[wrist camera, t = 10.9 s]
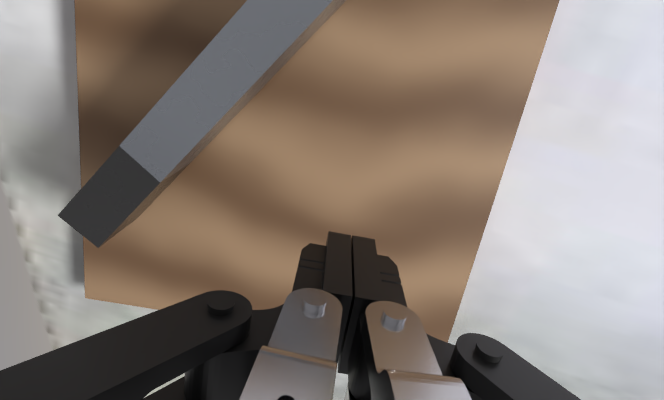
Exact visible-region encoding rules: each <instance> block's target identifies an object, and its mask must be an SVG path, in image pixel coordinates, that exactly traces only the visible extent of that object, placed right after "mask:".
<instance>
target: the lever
mask: <svg viewBox="0 0 664 400" xmlns="http://www.w3.org/2000/svg"><path fill="white" fill-rule="evenodd" d="M345 1H346V0H247V1H246V2H245V3H244V4H243V6H242V7H241V8H240V9H239V10H238V11H237V12H236V13H235V15H234V16H233V17H232V18H231V19H230V20H229V21H228V23H227V24H226V25H225V26H224V27H223V28H222V29H221V31H220V32H219V33H218V34H217V35H216V36H215V37H214V38H213V40H212V41H211V42H210V43H209V44H208V45H207V46H206V48H205V49H204V50H203V51H202V52H201V53H200V54H199V56H198V57H197V58H196V59H195V60H194V61H193V62H192V64H191V65H190V66H189V67H188V68H187V69H186V70H185V71H184V73H183V74H182V75H181V76H180V77H179V78H178V79H177V81H176V82H175V83H174V84H173V85H172V86H171V87H170V89H169V90H168V91H167V92H166V93H165V94H164V95H163V96H162V98H161V99H160V100H159V101H158V102H157V103H156V104H155V106H154V107H153V108H152V109H151V110H150V111H149V112H148V114H147V115H146V116H145V117H144V118H143V119H142V120H141V121H140V123H139V124H138V125H137V126H136V127H135V128H134V129H133V131H132V132H131V133H130V134H129V135H128V136H127V137H126V139H125V140H124V141H123V142H122V143H121V144H120V145H119V146H118V148H117V149H116V150H115V151H114V152H113V153H112V154H111V156H110V157H109V158H108V159H107V160H106V161H105V162H104V164H103V165H102V166H101V167H100V168H99V169H98V170H97V171H96V173H95V174H94V175H93V176H92V177H91V178H90V179H89V181H88V182H87V183H86V184H85V185H84V186H83V187H82V189H81V190H80V191H79V192H78V193H77V194H76V195H75V196H74V198H73V199H72V200H71V201H70V202H69V203H68V204H67V206H66V207H65V208H64V209H63V210H62V211H61V212H60V214H59V215H58V216H59V217H60V218H62V219H63V220H64V221H65V222H67V223H68V224H69V225H70V226H72V227H73V228H74V229H75V230H76V231H78V232H79V233H80V234H81V235H83V236H84V237H85V238H86V239H88V240H89V241H90V242H91V243H93V244H94V245H95V246H96V247H97V248H99V247H100V246H102V245H103V244H104V243H106V242H107V241H108V240H110V239H111V238H112V237H114V236H115V235H116V234H117V233H119V232H120V231H121V230H123V229H124V228H125V227H127V226H128V225H129V224H131V223H132V222H133V221H135V220H136V219H137V218H138V217H139V216H140V215H141V214H142V213H143V212H144V211H145V210H146V209H147V208H148V207H149V206H150V205H151V204H152V203H153V201H154V200H155V199H156V198H157V197H158V196H159V195H160V194H161V193H162V192H163V191H164V190H165V189H166V188H167V187H168V186H169V185H170V184H171V183H172V182H173V181H174V180H175V179H176V177H177V176H178V175H179V174H180V173H181V172H182V171H183V170H184V169H185V168H186V167H187V166H188V165H189V164H190V163H191V162H192V161H193V160H194V159H195V158H196V157H197V156H198V155H199V153H200V152H201V151H202V150H203V149H204V148H205V147H206V146H207V145H208V144H209V143H210V142H211V141H212V140H213V139H214V138H215V137H216V136H217V135H218V134H219V133H220V132H221V131H222V129H223V128H224V127H225V126H226V125H227V124H228V123H229V122H230V121H231V120H232V119H233V118H234V117H235V116H236V115H237V114H238V113H239V112H240V111H241V110H242V109H243V108H244V106H245V105H246V104H247V103H248V102H249V101H250V100H251V99H252V98H253V97H254V96H255V95H256V94H257V93H258V92H259V91H260V90H261V89H262V88H263V87H264V86H265V85H266V84H267V82H268V81H269V80H270V79H271V78H272V77H273V76H274V75H275V74H276V73H277V72H278V71H279V70H280V69H281V68H282V67H283V66H284V65H285V64H286V63H287V62H288V61H289V60H290V58H291V57H292V56H293V55H294V54H295V53H296V52H297V51H298V50H299V49H300V48H301V47H302V46H303V45H304V44H305V43H306V42H307V41H308V40H309V39H310V38H311V37H312V35H313V34H314V33H315V32H316V31H317V30H318V29H319V28H320V27H321V26H322V25H323V24H324V23H325V22H326V21H327V20H328V19H329V18H330V17H331V16H332V15H333V14H334V13H335V11H336V10H337V9H338V8H339V7H340V6H341V5H342V4H343V3H344V2H345Z"/></svg>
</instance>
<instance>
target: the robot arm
mask: <svg viewBox="0 0 664 400" xmlns="http://www.w3.org/2000/svg"><path fill="white" fill-rule="evenodd" d="M337 363H338V373H343V374H348V385H347V389H346V394H345V398H344V400H581V399H579V398H578V397H576V396H575V395H574V394H572V393H571V392H569V391H568V390H567V389H565V388H564V387H562V386H561V385H560V384H558V383H557V382H555V381H554V380H553V379H551V378H550V377H548V376H547V375H546V374H544V373H543V372H541V371H540V370H539V369H537V368H536V367H534V366H533V365H531V364H530V363H529V362H527V361H526V360H524V359H523V358H522V357H520V356H519V355H517V354H516V353H515V352H513V351H512V350H510V349H509V348H508V347H506V346H505V345H503V344H502V343H500V342H499V341H497V340H495V339H493V338H490V337H488V336H485V335H481V334H476V333H467V334H463V335H461V336H460V337H459V338H458V339H457V342H456V345H452V344H450V343H447V342H444V341H442V340H439V339H437V338H434V337H432V336H430V335H428V334H427V333H426V332H425V330H424V327H423V325H422V322H421V320H420V318H419V317H418V315H417V314H416V313H415V312H413V311H412V310H411V309H409V308H407V304H406V300H405V296H404V292H403V288H402V285H401V280H400V277H399V271H398V267H397V265H396V264H395V263H394V262H393V261H392V260H391V259H390V257H388V256H383V255H377V250H376V244H375V239H371V238H366V237H360V236H354V235H352V237H351V235H348V234H342V233H337V232H331V231H329V232H328V236H327V241H326V246H325V245H319V244H313V243H309V244H308V245H307V246H305V247H304V248H303V249H302V250H301V255H300V259H299V263H298V268H297V272H296V276H295V280H294V285H293V289H292V292H291V293H290V294H289V295H288V296H287V298H286V300H285V302H284V304H282V305H280V306H278V307H275V308H271V309H264V310H252V305H251V303H250V301H249V300H248V299H247V298H246V297H244V296H243V295H241V294H239V293H236V292H232V291H226V290H216V291H209V292H205V293H202V294H200V295H197V296H194V297H192V298H189V299H187V300H184V301H181V302H179V303H176V304H174V305H171V306H168V307H166V308H163V309H160V310H158V311H155V312H153V313H150V314H147V315H145V316H142V317H140V318H137V319H134V320H132V321H129V322H126V323H124V324H121V325H119V326H116V327H113V328H111V329H108V330H106V331H103V332H100V333H98V334H95V335H92V336H90V337H87V338H85V339H82V340H79V341H77V342H74V343H72V344H69V345H66V346H64V347H61V348H58V349H56V350H53V351H51V352H48V353H45V354H43V355H40V356H38V357H35V358H32V359H30V360H27V361H24V362H22V363H20V364H17V365H14V366H11V367H9V368H6V369H4V370H1V371H0V400H332V399H333V392H334V384H335V377H336V369H337ZM183 373H185V376H184V377H182V378H180V379H179V380H177V381H175V382H173V383H171V384H169V385H167V386H166V387H164V388H162V389H160V390H158V391H156V392H155V393H153V394H151V395H149V396H147V397H145V396H146V395H147V394H148V393H149V392H151V391H152V390H154V389H155V388H157V387H159V386H161V385H163V384H165V383H166V382H168V381H170V380H172V379H174V378H176V377H178V376H180V375H181V374H183ZM144 397H145V398H144Z"/></svg>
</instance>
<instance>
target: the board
mask: <svg viewBox="0 0 664 400" xmlns="http://www.w3.org/2000/svg"><path fill="white" fill-rule="evenodd" d="M246 1H247V0H75V28H76V55H77V83H78V111H79V139H80V166H81V189H82V187H83V186H84V185H85V184H86V183H87V182H88V181H89V179H90V178H91V177H92V176H93V175H94V174H95V173H96V171H97V170H98V169H99V168H100V167H101V166H102V165H103V164H104V162H105V161H106V160H107V159H108V158H109V157H110V156H111V154H112V153H113V152H114V151H115V150H116V149H117V148H118V146H119V145H120V144H121V143H122V142H123V141H124V140H125V139H126V137H127V136H128V135H129V134H130V133H131V132H132V131H133V129H134V128H135V127H136V126H137V125H138V124H139V123H140V121H141V120H142V119H143V118H144V117H145V116H146V115H147V114H148V112H149V111H150V110H151V109H152V108H153V107H154V106H155V104H156V103H157V102H158V101H159V100H160V99H161V98H162V96H163V95H164V94H165V93H166V92H167V91H168V90H169V89H170V87H171V86H172V85H173V84H174V83H175V82H176V81H177V79H178V78H179V77H180V76H181V75H182V74H183V73H184V71H185V70H186V69H187V68H188V67H189V66H190V65H191V64H192V62H193V61H194V60H195V59H196V58H197V57H198V56H199V54H200V53H201V52H202V51H203V50H204V49H205V48H206V46H207V45H208V44H209V43H210V42H211V41H212V40H213V38H214V37H215V36H216V35H217V34H218V33H219V32H220V31H221V29H222V28H223V27H224V26H225V25H226V24H227V23H228V21H229V20H230V19H231V18H232V17H233V16H234V15H235V13H236V12H237V11H238V10H239V9H240V8H241V7H242V6H243V4H244V3H245V2H246ZM558 3H559V0H346V1H345V2H344V3H343V4H342V5H341V6H340V7H339V8H338V9H337V10H336V11H335V13H334V14H333V15H332V16H331V17H330V18H329V19H328V20H327V21H326V22H325V23H324V24H323V25H322V26H321V27H320V28H319V29H318V30H317V31H316V32H315V33H314V34H313V35H312V37H311V38H310V39H309V40H308V41H307V42H306V43H305V44H304V45H303V46H302V47H301V48H300V49H299V50H298V51H297V52H296V53H295V54H294V55H293V56H292V57H291V58H290V60H289V61H288V62H287V63H286V64H285V65H284V66H283V67H282V68H281V69H280V70H279V71H278V72H277V73H276V74H275V75H274V76H273V77H272V78H271V79H270V80H269V81H268V82H267V84H266V85H265V86H264V87H263V88H262V89H261V90H260V91H259V92H258V93H257V94H256V95H255V96H254V97H253V98H252V99H251V100H250V101H249V102H248V103H247V104H246V105H245V106H244V108H243V109H242V110H241V111H240V112H239V113H238V114H237V115H236V116H235V117H234V118H233V119H232V120H231V121H230V122H229V123H228V124H227V125H226V126H225V127H224V128H223V129H222V131H221V132H220V133H219V134H218V135H217V136H216V137H215V138H214V139H213V140H212V141H211V142H210V143H209V144H208V145H207V146H206V147H205V148H204V149H203V150H202V151H201V152H200V153H199V155H198V156H197V157H196V158H195V159H194V160H193V161H192V162H191V163H190V164H189V165H188V166H187V167H186V168H185V169H184V170H183V171H182V172H181V173H180V174H179V175H178V176H177V177H176V179H175V180H174V181H173V182H172V183H171V184H170V185H169V186H168V187H167V188H166V189H165V190H164V191H163V192H162V193H161V194H160V195H159V196H158V197H157V198H156V199H155V200H154V201H153V203H152V204H151V205H150V206H149V207H148V208H147V209H146V210H145V211H144V212H143V213H142V214H141V215H140V216H139V217H138V218H137V219H136V220H135V221H133V222H132V223H131V224H129V225H128V226H127V227H125V228H124V229H123V230H121V231H120V232H119V233H117V234H116V235H115V236H114V237H112V238H111V239H110V240H108V241H107V242H106V243H104V244H103V245H102V246H100V247H99V248H97V247H96V246H95V245H94V244H93V243H91V242H90V241H89V240H88V239H86V238H85V237H84V236H83V250H84V277H85V298H88V299H95V300H101V301H107V302H114V303H120V304H126V305H132V306H139V307H145V308H151V309H158V310H160V309H163V308H166V307H168V306H171V305H174V304H176V303H179V302H181V301H184V300H187V299H189V298H192V297H194V296H197V295H200V294H202V293H205V292H209V291H216V290H226V291H232V292H236V293H239V294H241V295H243V296H244V297H246V298H247V299H248V300H249V301H250V303H251V305H252V310H264V309H271V308H275V307H278V306H280V305H282V304H284V302H285V300H286V298H287V296H288V295H289V294H290V293H291V292H292V289H293V285H294V280H295V276H296V272H297V268H298V263H299V259H300V255H301V250H302V249H303V248H304V247H305V246H307V245H308V244H309V243H313V244H319V245H325V246H326V241H327V236H328V232H329V231H331V232H337V233H342V234H348V235H351V237H352V235H354V236H360V237H366V238H371V239H375V244H376V250H377V255H383V256H388V257H390V259H391V260H392V261H393V262H394V263H395V264H396V265H397V267H398V271H399V277H400V280H401V285H402V288H403V292H404V296H405V300H406V304H407V308H409V309H411V310H412V311H413V312H415V313H416V314H417V315H418V317H419V318H420V320H421V322H422V325H423V327H424V330H425V332H426V333H427V334H428V335H430V336H432V337H434V338H437V339H439V340H442V341H444V342H448V339H449V336H450V333H451V330H452V327H453V324H454V321H455V318H456V315H457V312H458V309H459V306H460V303H461V300H462V297H463V294H464V290H465V287H466V284H467V281H468V278H469V275H470V272H471V269H472V266H473V263H474V260H475V257H476V254H477V251H478V248H479V245H480V242H481V239H482V235H483V232H484V229H485V226H486V223H487V220H488V217H489V214H490V211H491V208H492V205H493V202H494V199H495V196H496V193H497V190H498V187H499V183H500V180H501V177H502V174H503V171H504V168H505V165H506V162H507V159H508V156H509V153H510V150H511V147H512V144H513V141H514V138H515V135H516V132H517V128H518V125H519V122H520V119H521V116H522V113H523V110H524V107H525V104H526V101H527V98H528V95H529V92H530V89H531V86H532V83H533V80H534V76H535V73H536V70H537V67H538V64H539V61H540V58H541V55H542V52H543V49H544V46H545V43H546V40H547V37H548V34H549V31H550V28H551V25H552V21H553V18H554V15H555V12H556V9H557V6H558Z"/></svg>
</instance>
